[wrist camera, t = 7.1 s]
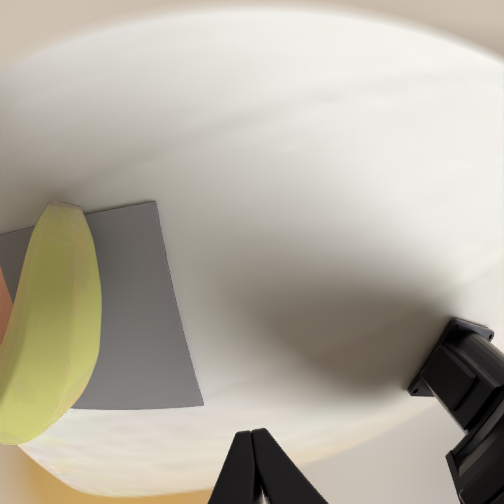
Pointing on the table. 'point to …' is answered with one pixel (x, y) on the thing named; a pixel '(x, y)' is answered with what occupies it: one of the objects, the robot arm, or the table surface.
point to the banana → (50, 326)
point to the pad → (4, 307)
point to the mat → (127, 314)
